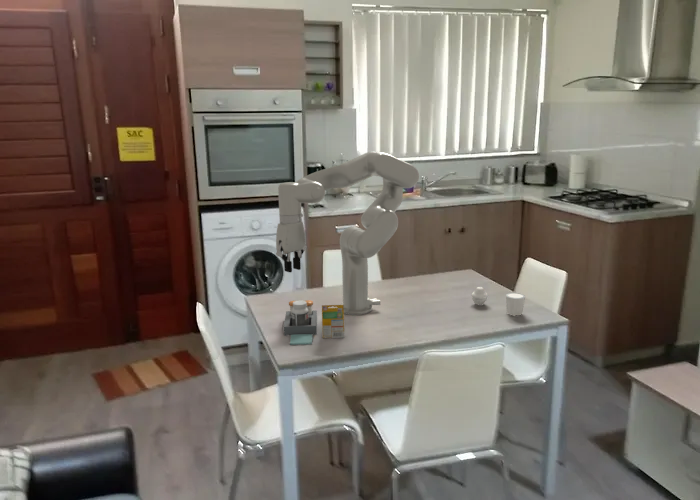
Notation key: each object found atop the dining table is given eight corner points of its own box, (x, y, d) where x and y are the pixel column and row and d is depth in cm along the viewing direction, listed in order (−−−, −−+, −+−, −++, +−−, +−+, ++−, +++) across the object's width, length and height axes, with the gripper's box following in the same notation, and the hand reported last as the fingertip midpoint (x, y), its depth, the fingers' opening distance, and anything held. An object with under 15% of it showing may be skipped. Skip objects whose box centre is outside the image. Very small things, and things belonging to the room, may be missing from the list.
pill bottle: (311, 327, 195) (310, 300, 192) (305, 333, 189) (304, 306, 187) (296, 325, 196) (295, 299, 194) (289, 331, 191) (288, 304, 189)
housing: (317, 318, 203) (316, 310, 203) (316, 334, 189) (316, 326, 188) (286, 319, 203) (286, 311, 202) (283, 335, 188) (283, 327, 188)
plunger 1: (299, 317, 202) (299, 300, 201) (299, 321, 199) (298, 304, 197) (289, 318, 202) (289, 300, 200) (289, 321, 199) (288, 304, 197)
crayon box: (344, 334, 188) (343, 301, 186) (344, 338, 186) (344, 304, 183) (322, 335, 188) (321, 302, 185) (322, 338, 185) (321, 305, 183)
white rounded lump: (469, 305, 214) (470, 288, 213) (472, 300, 220) (473, 283, 218) (486, 307, 212) (487, 290, 210) (488, 302, 217) (489, 285, 216)
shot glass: (525, 311, 207) (526, 293, 206) (522, 317, 201) (523, 299, 200) (506, 309, 210) (507, 291, 208) (503, 315, 204) (504, 297, 202)
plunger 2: (313, 317, 202) (313, 300, 201) (313, 321, 199) (312, 303, 197) (303, 317, 202) (303, 300, 201) (303, 321, 199) (302, 303, 197)
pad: (312, 335, 188) (312, 334, 188) (311, 344, 181) (311, 342, 181) (291, 336, 187) (291, 334, 187) (290, 344, 181) (290, 343, 180)
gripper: (300, 214, 200) (302, 263, 204) (264, 221, 188) (267, 273, 192) (315, 216, 195) (316, 267, 199) (279, 224, 183) (281, 277, 187)
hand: (292, 269), depth 196 cm, fingers open, 3 cm apart
